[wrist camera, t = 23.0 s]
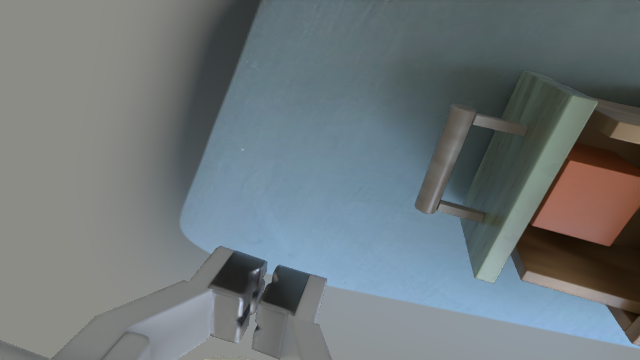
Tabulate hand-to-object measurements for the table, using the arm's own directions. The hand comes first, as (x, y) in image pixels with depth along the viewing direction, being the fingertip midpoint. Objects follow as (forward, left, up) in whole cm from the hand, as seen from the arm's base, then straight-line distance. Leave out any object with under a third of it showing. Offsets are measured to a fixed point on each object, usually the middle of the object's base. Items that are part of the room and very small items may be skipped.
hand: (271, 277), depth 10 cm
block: (0, -15, -17) cm, 23 cm away
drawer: (0, -14, -18) cm, 23 cm away
